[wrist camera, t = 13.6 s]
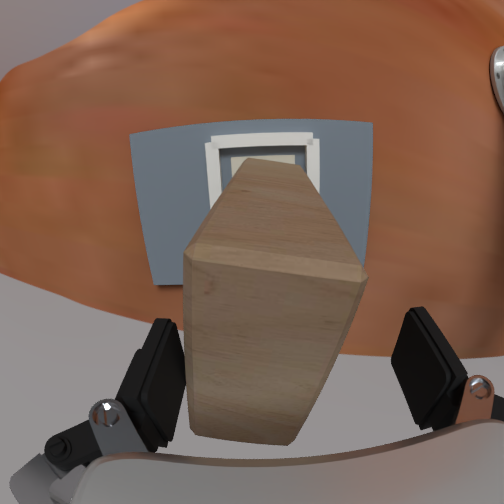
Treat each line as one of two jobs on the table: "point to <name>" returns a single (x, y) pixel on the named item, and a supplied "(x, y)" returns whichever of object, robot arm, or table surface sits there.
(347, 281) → the decorative block
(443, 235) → the table surface
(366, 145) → the board
